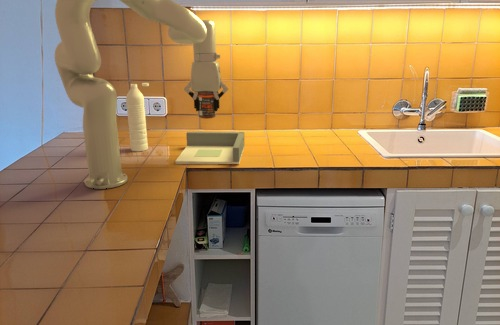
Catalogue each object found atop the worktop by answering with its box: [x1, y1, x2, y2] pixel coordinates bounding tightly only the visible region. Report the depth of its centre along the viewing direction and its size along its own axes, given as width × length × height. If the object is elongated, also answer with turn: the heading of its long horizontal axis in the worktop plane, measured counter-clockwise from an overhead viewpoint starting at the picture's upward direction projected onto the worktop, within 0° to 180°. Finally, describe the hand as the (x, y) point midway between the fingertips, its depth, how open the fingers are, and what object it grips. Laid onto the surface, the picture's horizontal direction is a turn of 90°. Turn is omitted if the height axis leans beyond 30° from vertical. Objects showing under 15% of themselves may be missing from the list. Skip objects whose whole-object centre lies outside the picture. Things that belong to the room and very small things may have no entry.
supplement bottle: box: [198, 91, 216, 119], centre depth 158 cm, size 6×6×11 cm
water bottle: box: [125, 82, 150, 153], centre depth 169 cm, size 9×6×25 cm
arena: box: [174, 131, 245, 165], centre depth 164 cm, size 22×22×6 cm
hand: (207, 110), depth 159 cm, fingers closed on supplement bottle, 6 cm apart
